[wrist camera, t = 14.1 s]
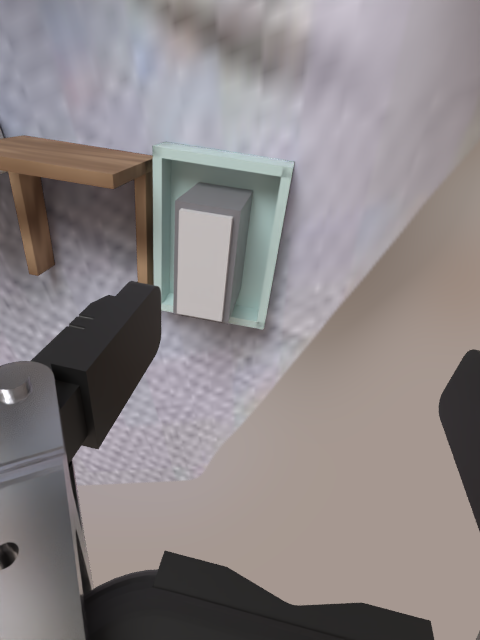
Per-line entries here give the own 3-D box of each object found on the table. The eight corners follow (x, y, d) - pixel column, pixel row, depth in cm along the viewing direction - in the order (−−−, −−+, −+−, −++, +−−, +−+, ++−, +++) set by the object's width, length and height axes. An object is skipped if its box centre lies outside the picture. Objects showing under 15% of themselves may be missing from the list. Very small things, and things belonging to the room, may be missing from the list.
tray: (165, 141, 33) (152, 146, 30) (294, 161, 32) (292, 167, 29) (164, 295, 41) (153, 308, 39) (266, 314, 40) (263, 329, 38)
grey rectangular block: (199, 181, 34) (172, 202, 27) (253, 190, 33) (239, 213, 27) (194, 280, 39) (171, 317, 32) (240, 288, 38) (226, 327, 32)
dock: (23, 135, 35) (-57, 146, 27) (157, 156, 34) (112, 174, 26) (46, 263, 42) (-13, 300, 34) (157, 283, 41) (122, 327, 33)
